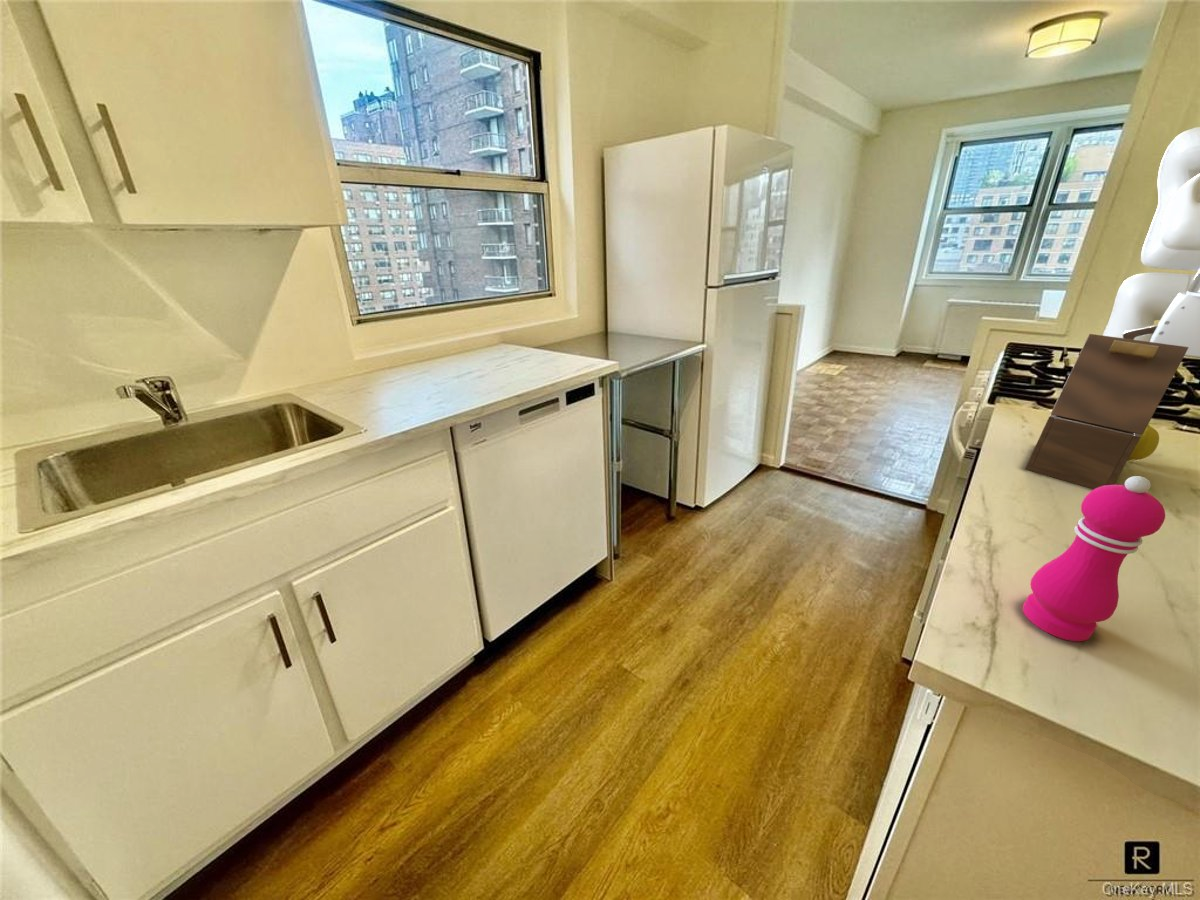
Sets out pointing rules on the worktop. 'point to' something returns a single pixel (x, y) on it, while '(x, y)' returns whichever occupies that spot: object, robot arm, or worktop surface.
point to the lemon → (1145, 444)
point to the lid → (1118, 382)
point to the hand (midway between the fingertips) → (1167, 386)
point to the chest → (1081, 452)
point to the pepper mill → (1093, 560)
